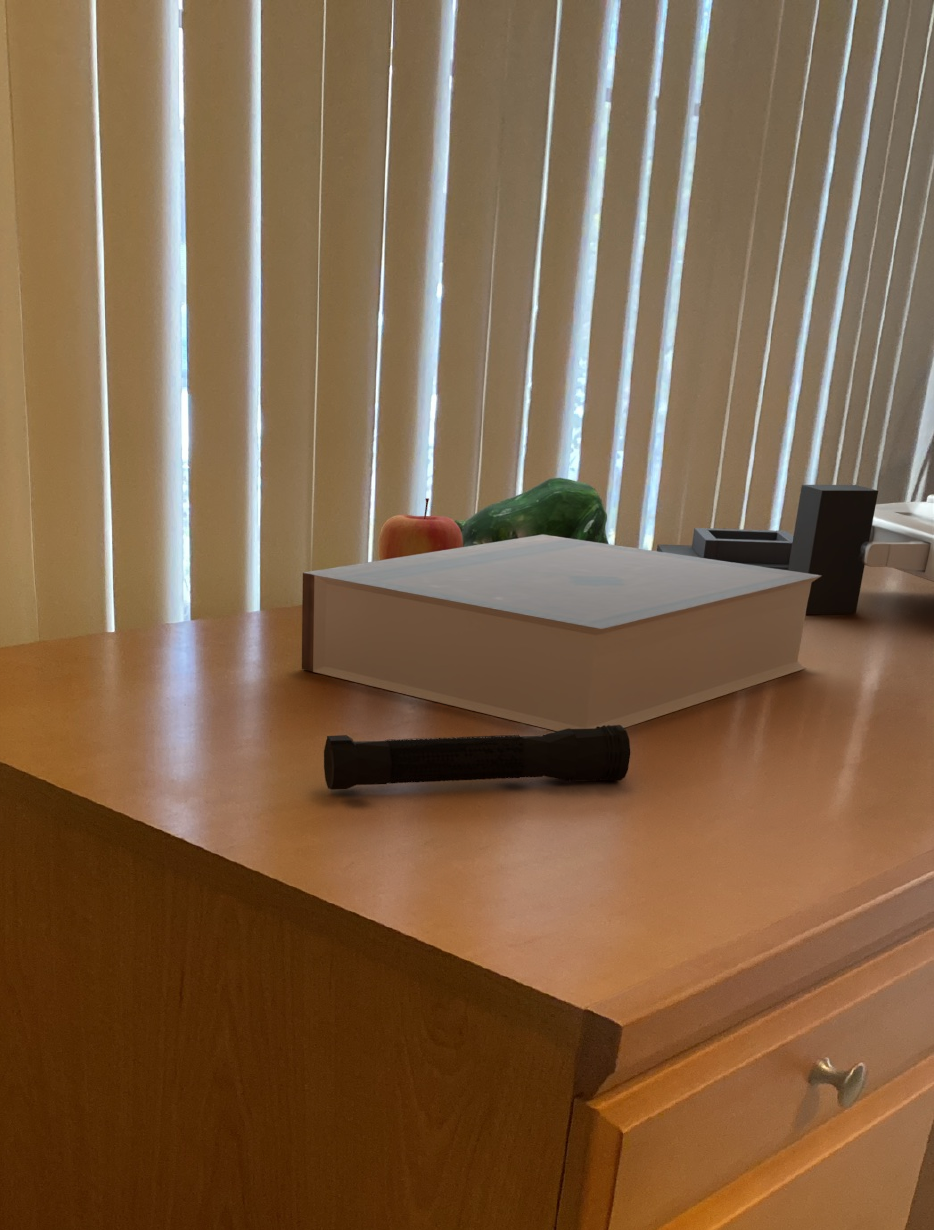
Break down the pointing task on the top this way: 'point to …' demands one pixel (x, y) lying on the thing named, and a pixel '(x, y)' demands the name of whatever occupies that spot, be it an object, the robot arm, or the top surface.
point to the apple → (417, 535)
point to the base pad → (738, 546)
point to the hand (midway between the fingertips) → (837, 545)
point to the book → (555, 629)
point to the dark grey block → (832, 543)
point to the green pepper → (541, 515)
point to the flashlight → (479, 758)
